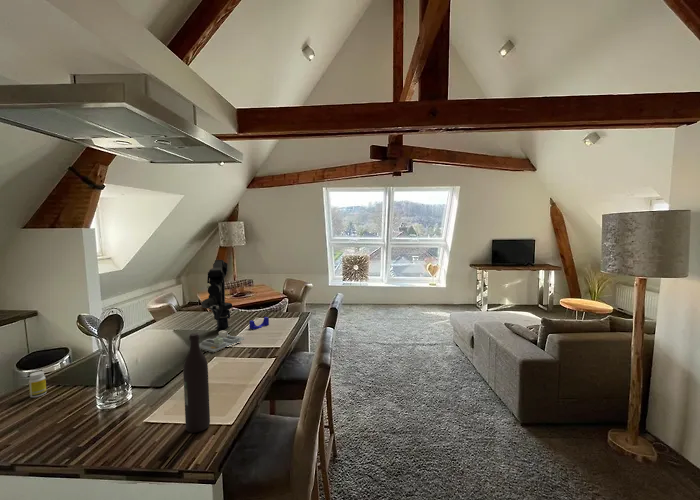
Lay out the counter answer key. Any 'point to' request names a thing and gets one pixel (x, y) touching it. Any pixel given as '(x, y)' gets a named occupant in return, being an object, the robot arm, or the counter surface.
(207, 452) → the counter surface
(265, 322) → the blue u-shaped bracket
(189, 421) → the wine bottle
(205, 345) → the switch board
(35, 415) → the counter surface
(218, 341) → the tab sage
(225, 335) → the tab ivory
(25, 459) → the counter surface
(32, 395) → the supplement bottle
